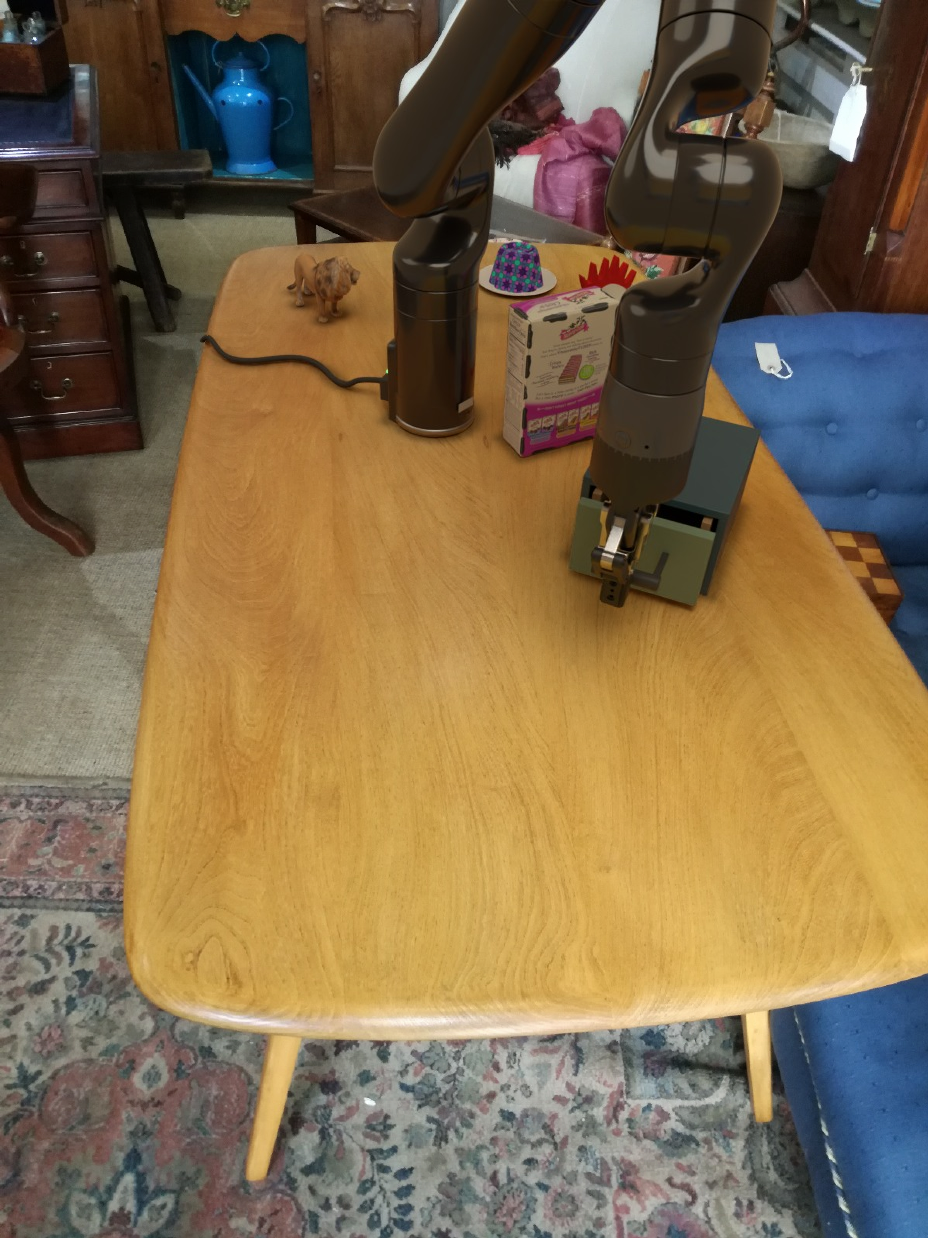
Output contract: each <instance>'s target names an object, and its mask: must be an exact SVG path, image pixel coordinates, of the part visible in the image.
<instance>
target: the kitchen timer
mask: <svg viewBox="0 0 928 1238" xmlns="http://www.w3.org/2000/svg"><path fill="white" fill-rule="evenodd" d="M620 260H621V259H620V257H619V256H617V254H613V255H612V257H611V261H610V259H609V258H607V257H605V256H604V257H603V258H602V261H601V264H600V267H599V270H598V266H597V264H596V263H594V262H593V261H590V262H589V266H588V272H587V279H586V278H585V276H583V275H582V274H580V273H579V274H578V281H579V285H580V287H581V288H580V289H584V288H588V287H593V286H597V287H599V288H601V289H602V291H605V292H606V293H608V294H609V295H610V296H612V297H613V298H615V299H616V300H618V301H619V302H620V299H621V297H622V295H623V293H624V292H625V291H626V290H627V289H628V288H629V287H631V286H632V285H633V282H634V280H635V278H636V276H637V270H635V269H633V268H631V269H630V270H629V267H630V264H629V263H628V262H625V261H622V262H621V264H620ZM628 270H629V272H628ZM627 273H628V274H627Z"/></svg>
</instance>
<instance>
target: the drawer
mask: <svg viewBox="0 0 928 1238" xmlns="http://www.w3.org/2000/svg"><path fill="white" fill-rule="evenodd" d="M604 501H610V499H609V498H608V497H607V496H606V495H605V494H604V493H603V492H602V491H601V490H600V489H599V488H598V487H596V489H595V490H594V492H593V497H592V499H588V498H585V497H581V499H580V498H579V501H578V502H577V506H576V511H575V520H574V525H573V533H572V542H571V548H570V555H569V560H568V561H569V562H568V570H570V571H573V572H577V573H580V574H583V575H587V576H591V577H593V578H597V579H600V580H603V578H601V577H597V576H596V574H595V571H594V568H593V566H592V563H591V552H592V550H594V548H595V546H596V547H598V545H599V543H600V537H601V530H602V524H601V522H600V516H601V510H602V506H603V504H604ZM660 506H664V507H668V508H672V509H675V510H679V511H683V512H687V513H690V514H694V515H698V516H702V517H704V519H703V521H702V525H701V528H700V529H699V528H696V527H692V526H688V525H684V524H681V523H677V522H673V521H670V520H666V519H662V518H659V517H654V520H653V525H652V529H651V533H650V537H649V539H648V541H647V543H646V545H644V549H643V551H642V553H641V555H640V560H639V562H638V563H637V564H636V566H634V573H633V576H632V580H631V585H630V589H635V590H639V591H642V592H645V593H649V594H652V595H655V596H657V597H658V596H659V597H662V598H665V599H668V600H671V601H675V602H677V603H678V602H679V603H682V604H685V605H689V606H692V607H696V606H697V603H698V601H699V597H700V590H701V586H702V582H703V579H704V575H705V571H706V568H707V564H708V560H709V557H710V553H711V549H712V546H713V542H714V538H715V535H716V533H715V531H716V528H717V524H718V520H719V519H717V518H713V517H709V516H706V515H702V514H698V513H694V512H691V511H687V510H683V509H679V508H676V507H672V506H668V505H664V504H660Z"/></svg>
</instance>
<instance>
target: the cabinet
mask: <svg viewBox="0 0 928 1238" xmlns="http://www.w3.org/2000/svg"><path fill="white" fill-rule="evenodd" d="M761 433H762V429H759V428H755V427H752V426H751V427H750V426H746V425H742V424H739V423H734V422H730V421H726V420H721V419H718V418H713V417H710V416H709V417H708V416H705V415H702V419H701V423H700V427H699V432H698V436H697V440H696V444H695V448H694V453H693V457H692V461H691V465H690V470H689V474H688V478H687V482H686V485H685V487H684V489H683V491H682V492H681V493H680V494H679V495H678V496H676V497H675V498H673V499H671V500H669V501H667V502H664V503H661V504H664V505H668V506H672V507H676V508H679V509H683V510H687V511H691V512H694V513H698V514H702V515H706V516H709V517H713V518H717V519H719V520H718V524H717V528H716V531H715V533H716V535H715V538H714V542H713V546H712V549H711V553H710V557H709V560H708V564H707V568H706V571H705V575H704V579H703V582H702V586H701V590H700V593H699V595H700V594H701V595H704V596H708V594H709V590H710V589H711V586H712V582H713V580H714V577H715V574H716V572H717V569H718V566H719V564H720V561H721V559H722V556H723V553H724V551H725V547H726V545H727V542H728V540H729V536H730V534H731V531H732V528H733V526H734V524H735V520H736V517H737V515H738V512H739V510H740V506H741V502H742V499H743V496H744V493H745V488H746V486H747V482H748V479H749V475H750V472H751V468H752V465H753V461H754V457H755V454H756V451H757V447H758V443H759V441H760V436H761ZM589 468H590V465H589V466H588V467H587V468H586V471H585V472H584V474H583V475H582V482H581V489H580V495H579V500H580V499H581V497H585V498H588V499H592V497H593V492H594V490H595V489H596V487H597V486H596V485H595V484H594V483H593V481H592V479H591V476H590V471H589Z"/></svg>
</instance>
